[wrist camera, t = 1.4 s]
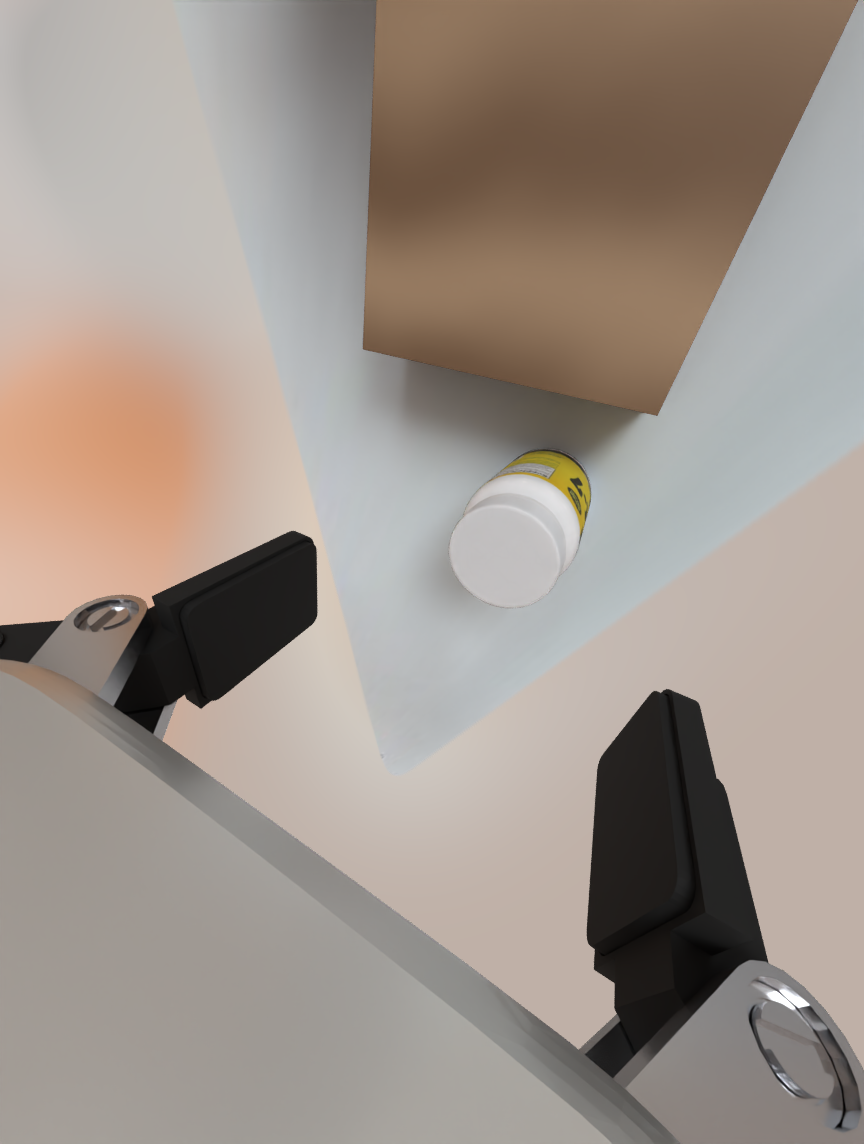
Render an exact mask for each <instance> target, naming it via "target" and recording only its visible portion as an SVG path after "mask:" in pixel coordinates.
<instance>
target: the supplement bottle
mask: <svg viewBox="0 0 864 1144" xmlns="http://www.w3.org/2000/svg"><path fill="white" fill-rule="evenodd" d="M590 502H591V485H590V480H589V477H588V475H587V473H586V471H585V469H584V467H583V466H582V465H581V464H580V463H579V462H578V461H577V460H576V459H575V458H574V457H572V456H571V455H569V454H567V453H565V452H563V451H560V450H556V449H537V450H532V451H529V452H527V453H525V454H523V455H521V456H519V457H518V458H516V459H515V460H514V461H513V462H511V463H510V464H509V465H508V466H506V467H505V468H504V469H503V470H502V471H500V472H499V473H498V474H497V475H496V476H494V477H493V478H492V479H491V480H489V481H488V482H487V483H486V484H484V485H483V486H482V487H481V488H480V489H479V490H478V491H477V492H476V493H475V494H474V496H473V497H472V498H471V500H470V501H469V503H468V505H467V507H466V509H465V511H464V514H463V518H462V519H461V520H460V521H459V522H458V523H457V525H456V527H455V528H454V530H453V532H452V535H451V538H450V543H449V558H450V563H451V566H452V569H453V571H454V573H455V575H456V577H457V578H458V580H459V582H460V583H461V584H462V585H463V586H464V587H465V588H466V590H467V591H469V592H470V593H471V594H472V595H473V596H475V597H476V598H478V599H480V600H481V601H483V602H486V603H488V604H491V605H494V606H498V607H504V608H519V607H524V606H528V605H531V604H533V603H535V602H537V601H539V600H540V599H542V598H543V597H544V596H545V595H547V594H548V593H549V591H550V590H551V589H552V588H553V586H554V584H555V583H556V581H557V579H558V577H559V576H560V575H561V574H562V573H563V572H564V571H565V570H566V569H567V568H568V567H569V565H570V564H571V562H572V561H573V559H574V557H575V555H576V553H577V550H578V547H579V543H580V539H581V536H582V532H583V528H584V525H585V521H586V517H587V513H588V510H589V506H590Z"/></svg>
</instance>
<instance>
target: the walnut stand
mask: <svg viewBox="0 0 864 1144" xmlns="http://www.w3.org/2000/svg"><path fill="white" fill-rule="evenodd" d="M857 2H858V0H376V26H375V51H374V77H373V103H372V128H371V154H370V179H369V205H368V230H367V256H366V282H365V307H364V333H363V349H364V350H368V351H373V352H377V353H381V354H386V355H390V356H395V357H399V358H404V359H408V360H413V361H417V362H421V363H426V364H430V365H435V366H439V367H444V368H448V369H452V370H457V371H461V372H466V373H470V374H475V375H479V376H483V377H488V378H492V379H497V380H501V381H506V382H510V383H514V384H519V385H523V386H528V387H532V388H537V389H541V390H546V391H550V392H554V393H559V394H563V395H568V396H572V397H577V398H581V399H585V400H590V401H594V402H599V403H603V404H608V405H612V406H616V407H621V408H625V409H630V410H634V411H639V412H643V413H647V414H652V415H656V416H657V415H658V413H659V411H660V409H661V407H662V405H663V403H664V401H665V399H666V396H667V394H668V392H669V390H670V388H671V386H672V384H673V382H674V380H675V378H676V376H677V374H678V372H679V370H680V368H681V365H682V363H683V361H684V359H685V357H686V355H687V353H688V351H689V349H690V347H691V345H692V343H693V341H694V339H695V337H696V334H697V332H698V330H699V328H700V326H701V324H702V322H703V320H704V318H705V316H706V314H707V312H708V310H709V308H710V306H711V303H712V301H713V299H714V297H715V295H716V293H717V291H718V289H719V287H720V285H721V283H722V281H723V279H724V277H725V274H726V272H727V270H728V268H729V266H730V264H731V262H732V260H733V258H734V256H735V254H736V252H737V250H738V248H739V246H740V243H741V241H742V239H743V237H744V235H745V233H746V231H747V229H748V227H749V225H750V223H751V221H752V219H753V217H754V215H755V212H756V210H757V208H758V206H759V204H760V202H761V200H762V198H763V196H764V194H765V192H766V190H767V188H768V186H769V184H770V181H771V179H772V177H773V175H774V173H775V171H776V169H777V167H778V165H779V163H780V161H781V159H782V157H783V155H784V153H785V150H786V148H787V146H788V144H789V142H790V140H791V138H792V136H793V134H794V132H795V130H796V128H797V126H798V124H799V121H800V119H801V117H802V115H803V113H804V111H805V109H806V107H807V105H808V103H809V101H810V99H811V97H812V95H813V93H814V90H815V88H816V86H817V84H818V82H819V80H820V78H821V76H822V74H823V72H824V70H825V68H826V66H827V64H828V62H829V59H830V57H831V55H832V53H833V51H834V49H835V47H836V45H837V43H838V41H839V39H840V37H841V35H842V33H843V31H844V28H845V26H846V24H847V22H848V20H849V18H850V16H851V14H852V12H853V10H854V8H855V6H856V4H857Z"/></svg>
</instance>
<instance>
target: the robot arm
mask: <svg viewBox="0 0 864 1144" xmlns="http://www.w3.org/2000/svg"><path fill="white" fill-rule="evenodd" d="M316 553H317V552H316V546H315V545H314V543H313V540H312V539H311V538H310V537H308V536H305V535H303V534H301V533H298V532H296V531H291V532H288V533H286V534H284V535H281V536H279V537H277V538H275V539H273V540H271V541H269V542H267V543H264V544H262V545H260V546H258V547H256V548H254V549H252V550H250V551H247V552H245V553H243V554H241V555H239V556H237V557H235V558H233V559H230V560H228V561H227V562H224V563H222V564H220V565H218V566H215V567H213V568H211V569H209V570H207V571H205V572H203V573H201V574H198V575H196V576H194V577H192V578H190V579H188V580H186V581H184V582H181V583H179V584H177V585H175V586H173V587H171V588H169V589H167V590H164V591H162V592H160V593H158V594H156V595H154V596H152V599H153V602H154V604H155V606H154V607H152V608H150V609H148V607H147V604H146V602H145V601H144V600H143V599H141V598H139V597H136V596H132V595H114V596H107V597H103V598H99V599H96V600H93V601H90V602H87V603H85V604H84V605H82V606H80V607H78V608H76V609H75V610H74V611H73V612H71V613H70V614H69V615H68V616H67V617H66V618H65V619H64V620H63V621H50V622H39V623H25V624H13V625H1V626H0V1144H864V1070H863V1068H862V1066H861V1064H860V1062H859V1060H858V1059H857V1057H856V1055H855V1053H854V1052H853V1050H852V1048H851V1046H850V1044H849V1043H848V1041H847V1039H846V1037H845V1036H844V1034H843V1033H842V1032H841V1030H840V1029H839V1028H838V1026H837V1025H836V1024H835V1022H834V1021H833V1019H832V1018H831V1017H830V1015H829V1014H828V1013H827V1011H826V1010H825V1009H824V1008H823V1007H822V1006H821V1004H819V1003H818V1001H817V1000H816V999H815V998H814V997H813V996H812V995H811V994H810V993H809V992H808V991H807V990H806V988H805V987H804V986H802V985H801V984H800V983H798V982H797V981H796V980H795V979H793V978H792V977H791V976H789V975H788V974H787V973H786V972H784V971H783V970H781V969H779V968H777V967H775V966H773V965H771V964H769V963H768V959H767V955H766V951H765V947H764V943H763V939H762V935H761V931H760V927H759V923H758V919H757V914H756V910H755V906H754V902H753V898H752V895H751V890H750V886H749V883H748V878H747V874H746V870H745V866H744V862H743V858H742V854H741V850H740V846H739V842H738V838H737V833H736V829H735V825H734V821H733V817H732V813H731V809H730V805H729V801H728V797H727V793H726V791H725V788H724V785H723V784H722V783H721V782H720V781H719V779H716V774H715V770H714V765H713V761H712V757H711V752H710V748H709V744H708V739H707V735H706V731H705V726H704V722H703V718H702V713H701V709H700V706H699V703H698V702H697V701H695V700H693V699H690V698H688V697H686V696H683V695H681V694H679V693H676V692H674V691H672V690H669V689H666V690H664V691H663V692H662V693H660V692H657V691H654V692H652V693H651V694H650V695H649V697H648V698H647V699H646V700H645V702H644V703H643V704H642V705H641V707H640V708H639V709H638V711H637V712H636V713H635V714H634V716H633V717H632V718H631V719H630V721H629V722H628V723H627V724H626V726H625V727H624V728H623V730H622V731H621V732H620V733H619V735H618V736H617V737H616V738H615V740H614V741H613V742H612V744H611V745H610V746H609V747H608V749H607V750H606V751H605V752H604V754H603V755H602V757H601V759H600V761H599V764H598V769H597V783H596V797H595V814H594V828H593V844H592V858H591V859H592V860H591V875H590V888H589V889H590V890H589V905H588V919H587V940H588V944H589V945H590V946H591V947H593V948H594V949H595V957H594V970H596V971H597V972H599V973H600V974H602V975H603V976H605V977H606V978H608V979H609V980H611V981H612V982H614V983H615V1006H614V1008H615V1011H616V1013H617V1014H616V1015H615V1016H614V1017H613V1018H612V1019H611V1020H610V1021H609V1022H608V1023H607V1024H606V1025H605V1026H604V1027H603V1028H602V1029H600V1030H599V1031H598V1032H597V1033H596V1034H595V1035H594V1036H593V1037H592V1038H591V1039H590V1040H589V1041H587V1042H586V1043H585V1044H584V1045H583V1046H582V1047H581V1048H580V1049H579V1050H578V1049H577V1048H576V1047H575V1046H573V1045H572V1044H571V1043H570V1042H568V1041H567V1040H566V1039H564V1038H563V1037H562V1036H561V1035H559V1034H558V1033H557V1032H555V1031H554V1030H553V1029H552V1028H550V1027H549V1026H548V1025H546V1024H545V1023H544V1022H542V1021H541V1020H539V1019H538V1018H537V1017H536V1016H534V1015H533V1014H532V1013H531V1012H529V1011H528V1010H527V1009H525V1008H524V1007H523V1006H521V1005H520V1004H519V1003H518V1002H516V1001H515V1000H514V999H512V998H511V997H510V996H508V995H507V994H506V993H504V992H503V991H502V990H500V989H499V988H498V987H497V986H495V985H494V984H492V983H491V982H490V981H489V980H487V979H486V978H485V977H483V976H482V975H481V974H479V973H478V972H477V971H475V970H474V969H473V968H472V967H470V966H469V965H468V964H466V963H465V962H464V961H462V960H461V959H459V958H458V957H457V956H456V955H454V954H453V953H451V952H450V951H449V950H447V949H446V948H445V947H443V946H442V945H441V944H439V943H438V942H437V941H435V940H434V939H433V938H431V937H430V936H428V935H427V934H426V933H424V932H423V931H422V930H420V929H419V928H418V927H416V926H415V925H413V924H412V923H411V922H409V921H408V920H407V919H405V918H404V917H403V916H401V915H400V914H399V913H397V912H396V911H394V910H393V909H392V908H390V907H389V906H388V905H386V904H385V903H384V902H382V901H381V900H380V899H378V898H377V897H376V896H374V895H373V894H371V893H370V892H369V891H367V890H366V889H365V888H363V887H362V886H361V885H359V884H358V883H357V882H355V881H354V880H352V879H351V878H350V877H348V876H347V875H346V874H344V873H343V872H342V871H340V870H339V869H337V868H336V867H335V866H333V865H332V864H331V863H329V862H328V861H327V860H325V859H324V858H322V857H321V856H320V855H318V854H317V853H316V852H314V851H313V850H311V849H310V848H309V847H307V846H306V845H305V844H303V843H302V842H301V841H299V840H298V839H296V838H295V837H294V836H292V835H291V834H290V833H288V832H287V831H285V830H284V829H283V828H281V827H280V826H279V825H277V824H276V823H275V822H273V821H272V820H270V819H269V818H268V817H266V816H265V815H264V814H262V813H261V812H259V811H258V810H257V809H255V808H254V807H253V806H251V805H250V804H248V803H247V802H245V801H244V800H243V799H242V798H240V797H239V796H238V795H236V794H235V793H233V792H232V791H231V790H229V789H228V788H227V787H225V786H224V785H222V784H221V783H220V782H218V781H217V780H216V779H214V778H213V777H211V776H210V775H209V774H207V773H206V772H204V771H203V770H202V769H200V768H199V767H198V766H196V765H195V764H193V763H192V762H191V761H189V760H188V759H186V758H185V757H184V756H182V755H181V754H180V753H178V752H177V751H175V750H174V749H173V748H171V747H170V746H168V745H167V744H166V743H164V742H163V741H162V740H163V737H164V735H165V732H166V729H167V726H168V724H169V721H170V718H171V716H172V713H173V710H174V708H175V705H176V702H177V700H178V699H179V698H180V697H182V696H183V695H185V696H186V699H187V700H189V701H190V702H192V703H193V704H195V705H196V706H198V707H199V708H203V707H204V706H205V705H206V704H208V703H209V702H210V701H212V700H213V701H214V700H217V699H219V698H221V697H222V696H224V695H225V694H226V693H227V692H229V691H230V690H231V689H232V688H234V687H235V686H236V685H237V684H238V683H240V682H241V681H242V680H243V679H245V678H246V677H247V676H248V675H250V674H251V673H252V672H253V671H255V670H256V669H257V668H258V667H260V666H261V665H262V664H263V663H265V662H266V661H267V660H268V659H270V658H271V657H272V656H273V655H275V654H276V653H277V652H278V651H279V650H281V649H282V648H283V647H285V646H286V645H287V644H288V643H290V642H291V641H292V640H293V639H295V638H296V637H297V636H298V635H300V634H301V633H302V632H303V631H305V630H306V629H307V628H308V627H309V626H311V625H312V624H313V623H314V621H315V619H316V617H317V554H316Z"/></svg>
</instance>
